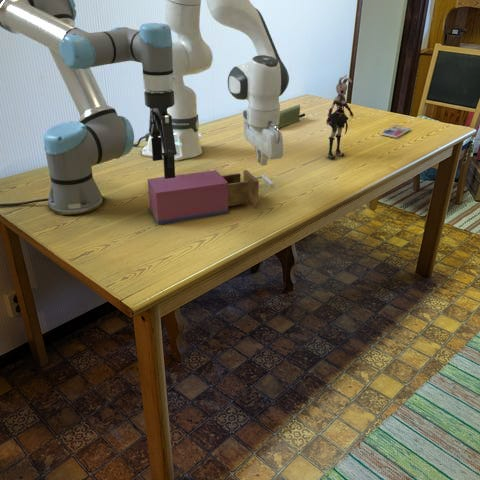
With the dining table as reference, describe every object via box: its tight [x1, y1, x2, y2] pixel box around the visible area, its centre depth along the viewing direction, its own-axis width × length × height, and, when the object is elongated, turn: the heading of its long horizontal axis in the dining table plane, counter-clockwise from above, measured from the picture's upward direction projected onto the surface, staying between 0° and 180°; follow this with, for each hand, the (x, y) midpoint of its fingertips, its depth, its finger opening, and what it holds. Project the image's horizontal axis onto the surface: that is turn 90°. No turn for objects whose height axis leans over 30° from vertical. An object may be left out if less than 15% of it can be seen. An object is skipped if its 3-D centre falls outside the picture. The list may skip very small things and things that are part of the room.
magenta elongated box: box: [147, 169, 229, 225], centre depth 145 cm, size 21×10×10 cm, turn 111°
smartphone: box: [380, 124, 411, 139], centre depth 215 cm, size 7×1×15 cm
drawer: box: [221, 169, 276, 207], centre depth 150 cm, size 25×9×7 cm, turn 111°
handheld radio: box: [277, 104, 306, 129], centre depth 223 cm, size 7×3×25 cm
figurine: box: [325, 74, 354, 160], centre depth 182 cm, size 15×6×30 cm, turn 132°
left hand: (163, 168), depth 139 cm, fingers open, 13 cm apart
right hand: (262, 163), depth 149 cm, fingers closed
